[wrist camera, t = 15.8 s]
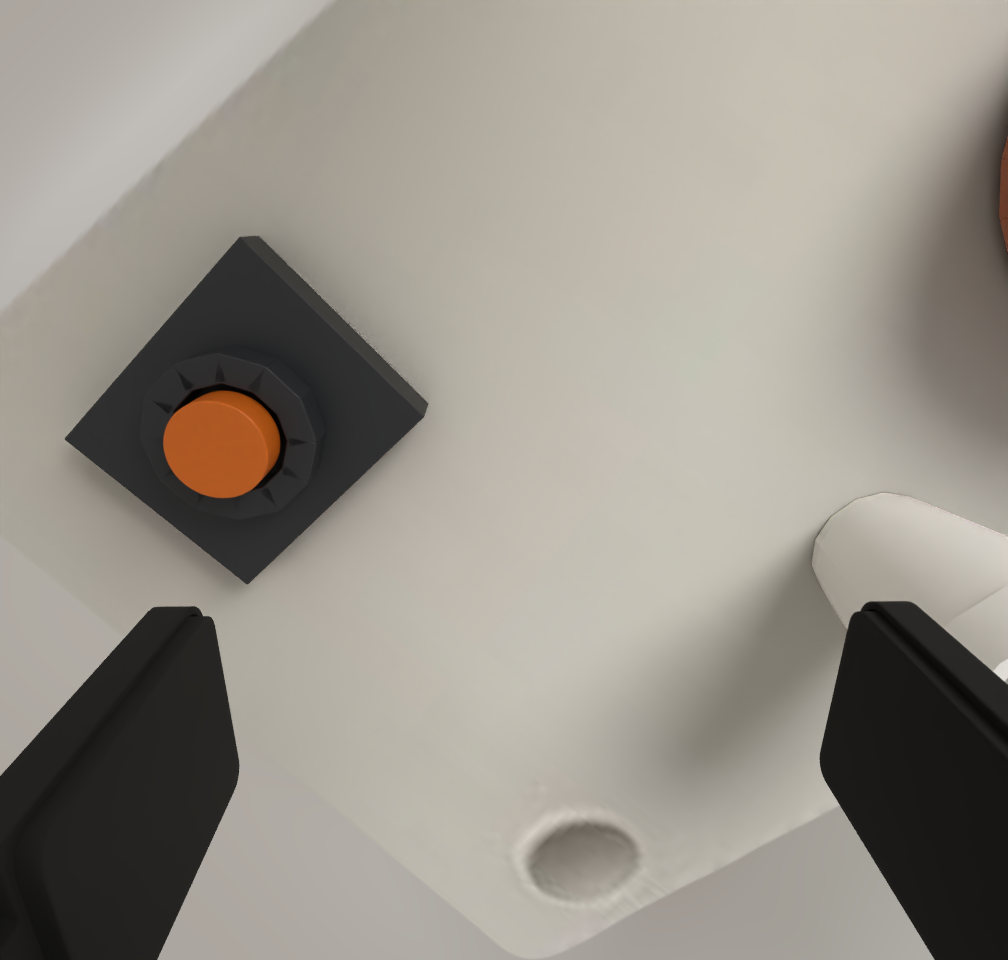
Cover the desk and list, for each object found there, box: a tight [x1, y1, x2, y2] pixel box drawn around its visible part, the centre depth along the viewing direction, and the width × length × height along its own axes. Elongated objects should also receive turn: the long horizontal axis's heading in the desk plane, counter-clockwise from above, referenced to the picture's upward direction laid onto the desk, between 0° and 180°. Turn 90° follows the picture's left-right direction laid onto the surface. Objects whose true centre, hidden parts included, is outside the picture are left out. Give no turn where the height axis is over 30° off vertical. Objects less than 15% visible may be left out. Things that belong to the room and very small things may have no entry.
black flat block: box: [65, 236, 428, 584], centre depth 28 cm, size 10×12×4 cm
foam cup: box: [811, 492, 1008, 684], centre depth 27 cm, size 10×9×13 cm
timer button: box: [163, 391, 280, 498], centre depth 26 cm, size 4×4×2 cm
